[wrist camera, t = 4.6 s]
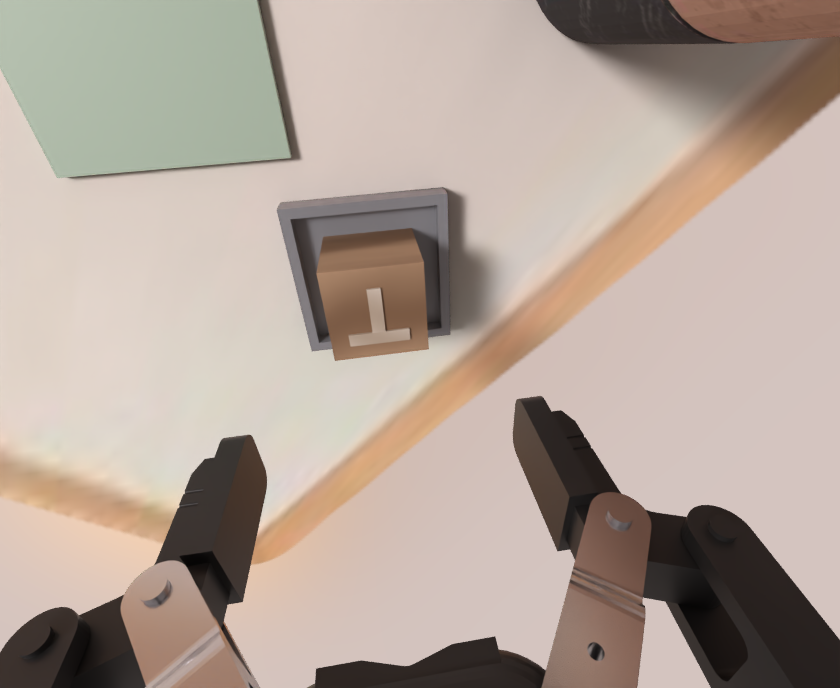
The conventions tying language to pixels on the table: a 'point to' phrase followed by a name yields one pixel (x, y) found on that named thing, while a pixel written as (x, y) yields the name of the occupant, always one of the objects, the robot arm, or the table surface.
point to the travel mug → (692, 20)
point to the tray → (362, 215)
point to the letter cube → (373, 293)
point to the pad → (143, 83)
